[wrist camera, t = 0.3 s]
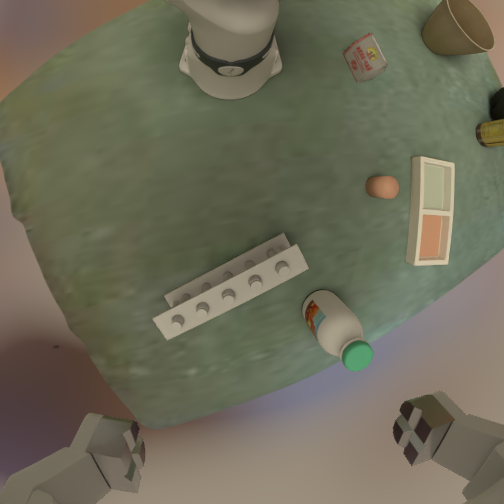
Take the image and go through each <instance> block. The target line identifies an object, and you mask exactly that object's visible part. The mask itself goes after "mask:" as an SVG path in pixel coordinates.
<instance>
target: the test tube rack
mask: <svg viewBox="0 0 504 504" xmlns="http://www.w3.org/2000/svg"><path fill="white" fill-rule="evenodd" d="M307 269H309V268H308V266H307V264H306V262H305V260H304V257H303V255H302V253H301V251H300V249H299V247H298V245H297V244H294V245H293V246H290V244H289V242H288V240H287V238H286V236H285V234H284V233H281V234H279V235H278V236H276V237H274V238H272V239H270V240H268V241H266V242H264V243H262V244H260V245H259V246H257V247H255V248H253V249H251V250H249V251H247V252H245V253H243V254H241V255H239V256H238V257H236V258H234V259H232V260H230V261H228V262H226V263H224V264H222V265H220V266H218V267H217V268H215V269H213V270H211V271H209V272H207V273H205V274H203V275H201V276H199V277H198V278H196V279H194V280H192V281H190V282H188V283H186V284H184V285H182V286H180V287H179V288H177V289H175V290H173V291H171V292H169V293H167V294H165V295H164V297H165V298H166V300H167V302H168V303H169V305H170V306H171V309H169V310H167V311H165V312H163V313H161V314H159V315H157V316H155V317H153V320H154V322H155V323H156V325H157V326H158V328H159V329H160V331H161V332H162V334H163V335H164V336H165V338H166V339H167V340H168V339H171V338H173V337H175V336H177V335H179V334H181V333H183V332H185V331H187V330H190V329H192V328H194V327H196V326H198V325H200V324H202V323H204V322H206V321H208V320H210V319H212V318H214V317H216V316H218V315H220V314H222V313H224V312H226V311H228V310H230V309H232V308H234V307H236V306H238V305H240V304H242V303H244V302H246V301H248V300H250V299H252V298H254V297H256V296H258V295H260V294H262V293H264V292H266V291H268V290H269V289H271V288H273V287H275V286H277V285H279V284H281V283H283V282H285V281H287V280H289V279H290V278H292V277H294V276H296V275H298V274H300V273H302V272H304V271H305V270H307ZM276 270H277V271H276ZM260 279H261V280H260ZM222 293H223V296H222ZM234 294H235V297H234ZM208 309H209V310H208Z"/></svg>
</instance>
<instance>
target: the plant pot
mask: <svg viewBox="0 0 504 504" xmlns="http://www.w3.org/2000/svg"><path fill="white" fill-rule="evenodd" d="M422 37H423V40H424V42H425V44H426V45H427V47H428V48H429V49H430V50H431V51H433V52H434V53H436V54H441V55H465V54H475V53H482V52H487V51H492V50H493V49H494V46H495V38H494V34H493V31H492V29H491V27H490V25H489V23H488V22H487V19H486V18H485V16H484V15H483V14H482V12H481V11H480V10H479V9H478V8H477V7H476V6H475V5H474V4H473V3H472V2H471V1H470V0H442V2H441V3H440V4H439V5H438V6H437V7H436V9H435V10H434V12H433V13H432V15H431V16H430V18H429V20H428V21H427V23H426V25H425V27H424V30H423V32H422Z"/></svg>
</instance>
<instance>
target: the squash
mask: <svg viewBox="0 0 504 504" xmlns="http://www.w3.org/2000/svg"><path fill="white" fill-rule="evenodd" d="M491 106H492V109H493V110H492V117H493V119H494V120H501V119H504V87H503V88H501V89H500V90H499V91H498V92H497V93H496V94H495V95H494V97H493V98H492V101H491Z"/></svg>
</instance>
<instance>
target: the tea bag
mask: <svg viewBox="0 0 504 504" xmlns="http://www.w3.org/2000/svg"><path fill="white" fill-rule="evenodd" d="M343 55H344V57H345V59H346V61H347V63H348V65H349V67H350V69H351V71H352V74H353V76H354V78H355V80H356V82H361V81H366V80H371V79H373V78H374V77H376V76H377V75H379V74H380V73H382V72H383V71H385V68H386V66H387V65H388V64H387V62H386V60H385V58H384V56H383V54H382V52H381V50H380V48H379V46H378V44H377V42H376V40H375V38H374V36H373V35H372V33H371V34H370V33H369V34H368V35H366V36H364V37H363V38H361V39H359V40H357V41H355V42H354V43H353V44H352V45H351V46H350V47H349V48H348V49H347V50H346V51H345V52H344V53H343Z"/></svg>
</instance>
